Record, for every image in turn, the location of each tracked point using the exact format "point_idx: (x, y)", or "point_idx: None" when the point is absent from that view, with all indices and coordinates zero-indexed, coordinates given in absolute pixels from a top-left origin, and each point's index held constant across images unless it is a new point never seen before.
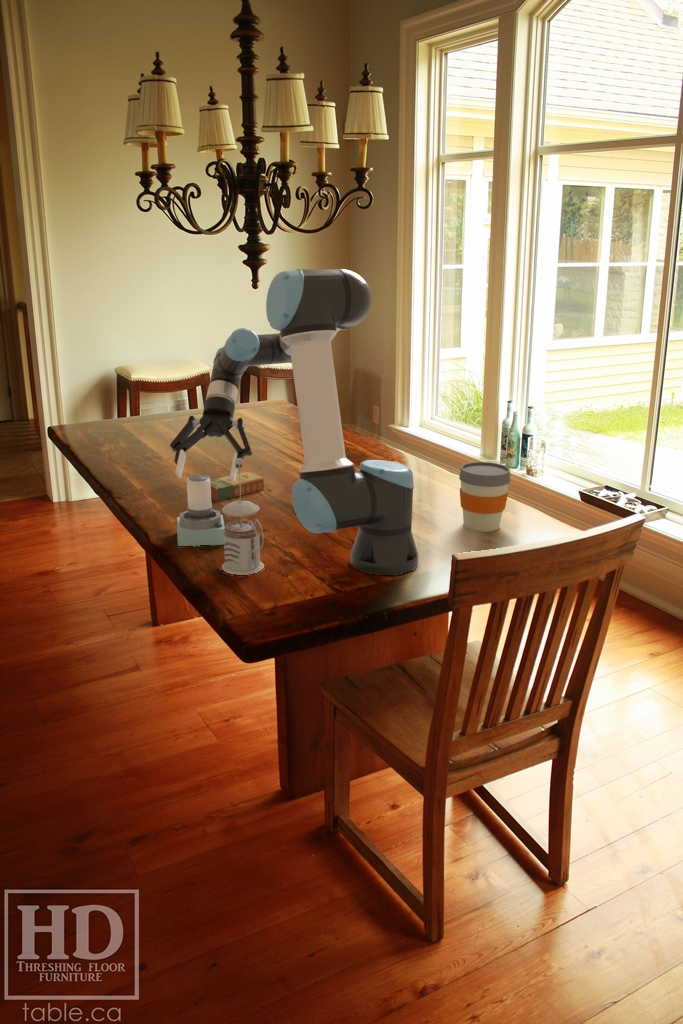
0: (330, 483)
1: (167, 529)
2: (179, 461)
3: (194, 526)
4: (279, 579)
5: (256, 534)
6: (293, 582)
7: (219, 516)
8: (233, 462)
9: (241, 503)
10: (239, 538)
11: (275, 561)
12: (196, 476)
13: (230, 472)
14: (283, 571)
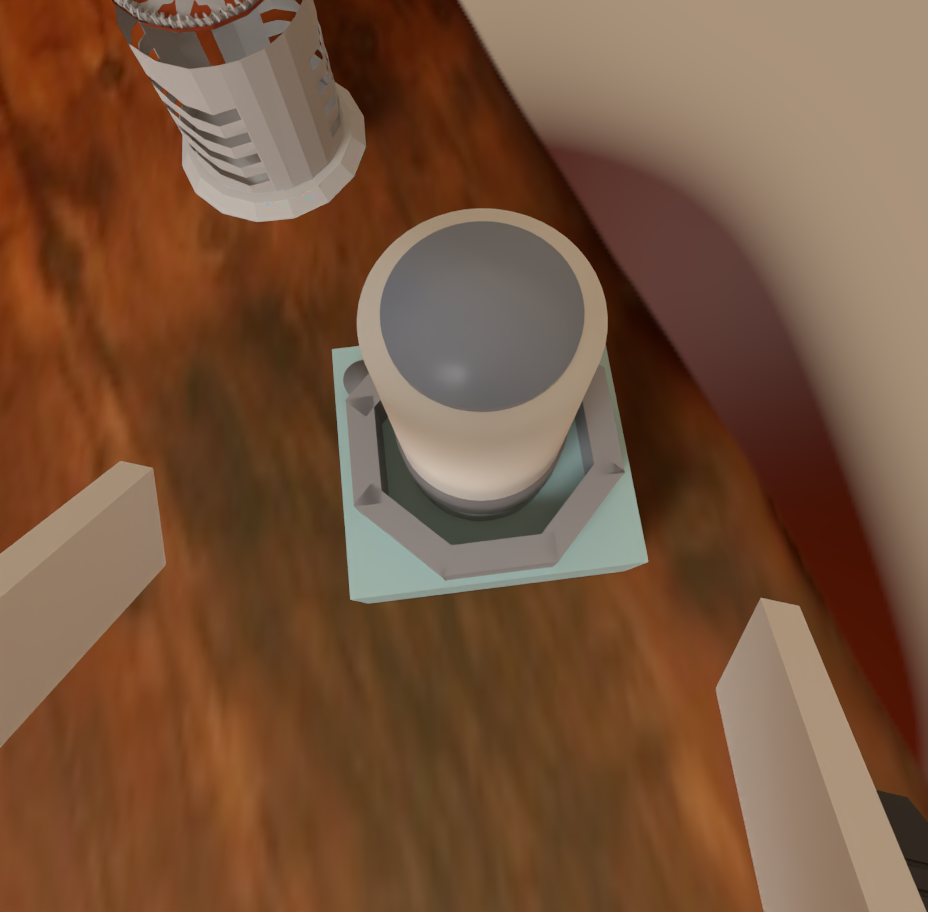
0: None
1: (696, 627)
2: (827, 737)
3: None
4: (137, 39)
5: None
6: (89, 16)
7: (352, 401)
8: (4, 577)
9: None
10: (244, 121)
11: (130, 193)
12: (507, 347)
13: (124, 488)
14: (111, 102)
